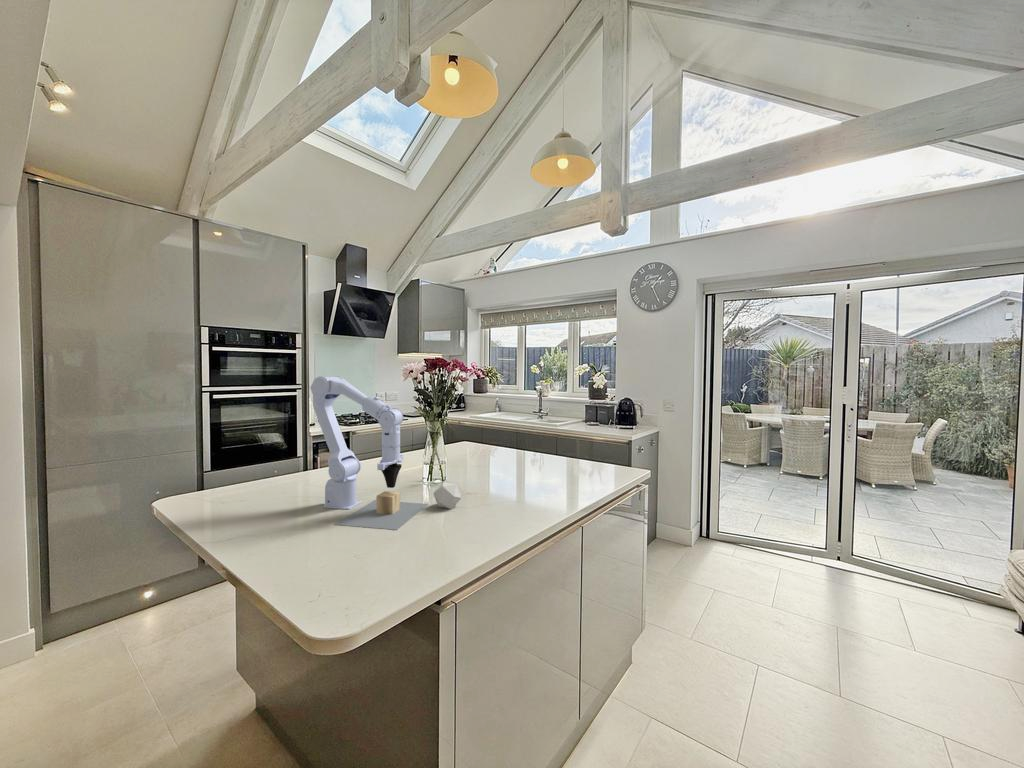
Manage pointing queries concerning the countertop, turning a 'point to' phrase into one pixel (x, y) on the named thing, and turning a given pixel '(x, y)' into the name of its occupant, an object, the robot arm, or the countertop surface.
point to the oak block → (388, 502)
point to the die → (447, 495)
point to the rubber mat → (381, 516)
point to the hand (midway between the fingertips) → (390, 487)
